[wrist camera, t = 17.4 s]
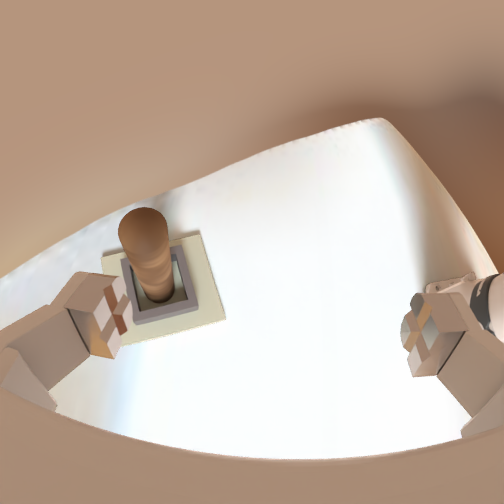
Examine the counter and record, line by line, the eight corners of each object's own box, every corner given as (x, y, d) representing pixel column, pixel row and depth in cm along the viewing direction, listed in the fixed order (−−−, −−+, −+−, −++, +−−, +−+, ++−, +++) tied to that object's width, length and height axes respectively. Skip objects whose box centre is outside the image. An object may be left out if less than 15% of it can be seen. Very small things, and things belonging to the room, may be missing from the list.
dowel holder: (199, 237, 42) (200, 225, 39) (225, 320, 38) (228, 314, 35) (102, 260, 38) (95, 250, 35) (119, 347, 34) (113, 344, 31)
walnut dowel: (170, 269, 38) (161, 202, 24) (178, 299, 37) (172, 246, 23) (141, 277, 37) (115, 213, 23) (147, 306, 36) (122, 257, 22)
